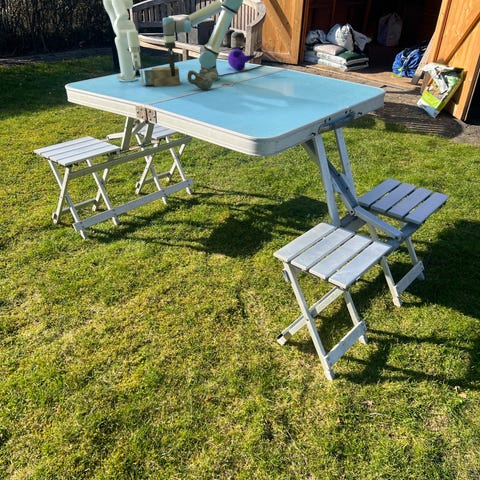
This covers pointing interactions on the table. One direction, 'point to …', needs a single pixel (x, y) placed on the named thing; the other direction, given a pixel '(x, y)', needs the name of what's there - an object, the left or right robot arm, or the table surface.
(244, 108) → the table surface
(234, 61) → the toy
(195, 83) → the teapot
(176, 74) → the cabinet
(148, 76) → the drawer
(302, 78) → the table surface
